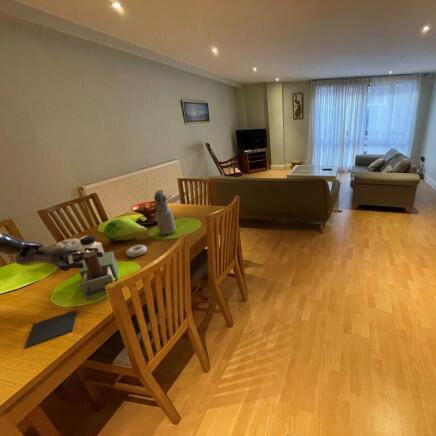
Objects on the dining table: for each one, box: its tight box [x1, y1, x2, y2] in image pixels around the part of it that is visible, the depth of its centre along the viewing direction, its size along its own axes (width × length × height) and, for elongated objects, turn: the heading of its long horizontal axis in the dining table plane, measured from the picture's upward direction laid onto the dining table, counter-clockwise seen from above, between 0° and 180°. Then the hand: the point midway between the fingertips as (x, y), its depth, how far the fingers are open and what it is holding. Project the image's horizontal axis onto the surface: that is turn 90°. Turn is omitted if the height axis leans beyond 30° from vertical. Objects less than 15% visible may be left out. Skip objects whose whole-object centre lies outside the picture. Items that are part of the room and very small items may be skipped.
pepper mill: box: [83, 252, 104, 280], centre depth 101 cm, size 4×4×16 cm
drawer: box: [79, 265, 115, 301], centre depth 102 cm, size 17×10×8 cm, turn 35°
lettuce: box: [103, 217, 148, 243], centre depth 148 cm, size 15×22×15 cm
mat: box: [24, 309, 78, 349], centre depth 86 cm, size 12×12×1 cm
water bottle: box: [153, 189, 177, 236], centre depth 154 cm, size 10×10×28 cm
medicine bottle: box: [78, 235, 105, 254], centre depth 129 cm, size 7×7×12 cm
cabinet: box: [78, 250, 119, 282], centre depth 111 cm, size 14×12×10 cm
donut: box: [125, 244, 148, 258], centre depth 133 cm, size 10×4×10 cm
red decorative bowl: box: [130, 195, 172, 225], centre depth 176 cm, size 28×24×16 cm
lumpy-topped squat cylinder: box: [53, 237, 82, 252], centre depth 130 cm, size 10×13×9 cm
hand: (92, 260), depth 99 cm, fingers open, 8 cm apart
